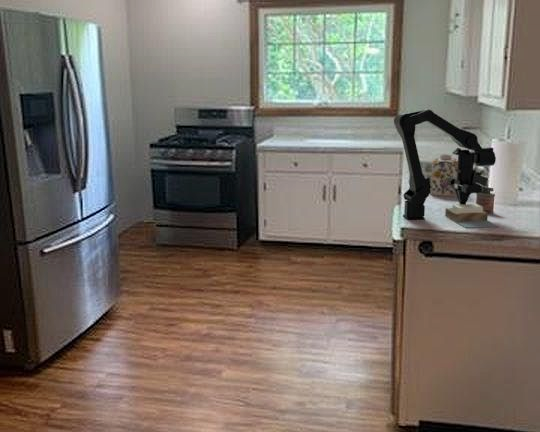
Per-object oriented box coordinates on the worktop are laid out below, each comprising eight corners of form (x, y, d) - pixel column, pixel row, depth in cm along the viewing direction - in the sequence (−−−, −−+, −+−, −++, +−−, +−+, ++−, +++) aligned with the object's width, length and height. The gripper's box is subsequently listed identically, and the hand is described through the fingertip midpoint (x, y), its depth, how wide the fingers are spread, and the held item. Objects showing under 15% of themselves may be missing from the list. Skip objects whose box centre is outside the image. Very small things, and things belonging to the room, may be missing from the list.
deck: (455, 222, 213) (455, 214, 213) (445, 216, 223) (445, 208, 222) (487, 221, 214) (487, 213, 214) (475, 215, 224) (476, 207, 223)
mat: (465, 228, 205) (465, 227, 205) (455, 222, 213) (455, 221, 213) (498, 227, 206) (498, 226, 205) (487, 221, 214) (487, 220, 214)
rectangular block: (458, 213, 214) (459, 207, 214) (452, 209, 220) (452, 204, 220) (482, 212, 215) (483, 207, 215) (475, 209, 221) (475, 203, 220)
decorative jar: (456, 197, 260) (459, 156, 256) (429, 195, 263) (431, 155, 259) (457, 192, 271) (459, 153, 267) (431, 191, 274) (433, 152, 270)
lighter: (472, 210, 233) (474, 185, 231) (478, 209, 235) (480, 184, 232) (489, 214, 226) (491, 188, 224) (495, 213, 228) (497, 187, 226)
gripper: (498, 169, 210) (494, 212, 213) (475, 162, 228) (472, 202, 231) (467, 170, 209) (465, 213, 212) (447, 163, 227) (445, 202, 230)
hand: (462, 207), depth 221 cm, fingers closed
